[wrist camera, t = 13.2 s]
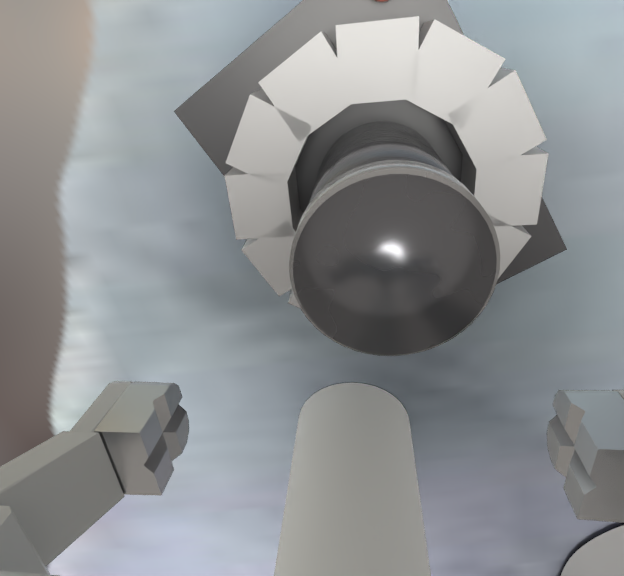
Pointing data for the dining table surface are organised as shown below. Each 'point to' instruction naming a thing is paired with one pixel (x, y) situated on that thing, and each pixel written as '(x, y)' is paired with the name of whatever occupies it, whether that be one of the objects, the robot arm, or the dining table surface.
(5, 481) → the robot arm
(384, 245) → the lens
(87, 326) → the dining table surface
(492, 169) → the camera body
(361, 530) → the cylindrical container
